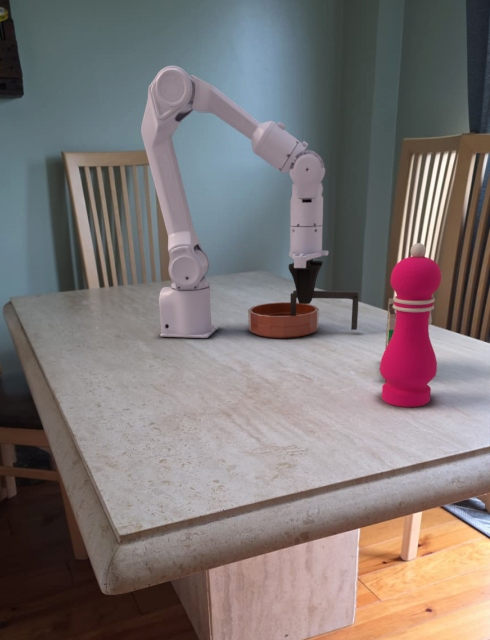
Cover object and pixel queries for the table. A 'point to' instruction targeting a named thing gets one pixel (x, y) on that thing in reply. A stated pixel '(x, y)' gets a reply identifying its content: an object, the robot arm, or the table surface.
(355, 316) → the dark grey bent bar
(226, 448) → the table surface
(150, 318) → the table surface
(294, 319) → the bowl
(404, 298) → the pepper mill
